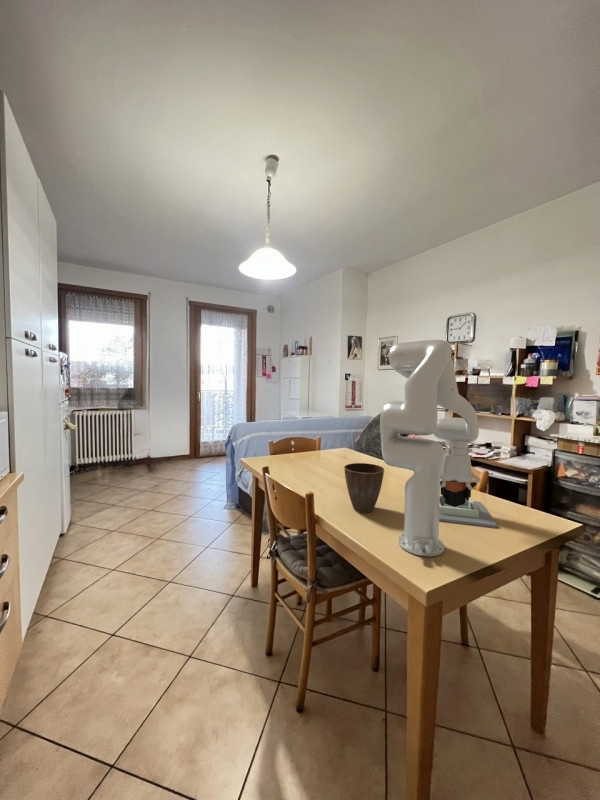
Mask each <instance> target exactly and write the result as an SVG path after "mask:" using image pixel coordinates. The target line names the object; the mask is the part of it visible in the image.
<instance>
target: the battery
mask: <svg viewBox="0 0 600 800" xmlns="http://www.w3.org/2000/svg"><path fill="white" fill-rule="evenodd" d="M452 480H454V479H452ZM466 486H467V485H466V483H461V482H457V481H446V484H445V488H446V491H445V504H448V505H450V506H453V507H457V506H460V505H463V504H465V501H466Z"/></svg>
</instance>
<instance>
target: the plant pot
mask: <svg viewBox="0 0 600 800" xmlns="http://www.w3.org/2000/svg"><path fill="white" fill-rule="evenodd" d="M343 468H344V477H345V482H346V487H347V491H348V492H347V493H348V495H349V499H350V502H351V505H352V506H351V507H352V508H353V510H355V511H356V512H358V513H365V514H366V513H367V514H369V513H372V512H373V511H374V510H375V507H376V504H377V501H378V499H379V496H380V493H381V489H382V484H383V479H384V474H385V473H384V472H385V468H384V466H381V465H377V464H374V463H366V462H365V463H364V462H354V463H348V464H345V465H344V467H343Z"/></svg>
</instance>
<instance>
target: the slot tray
mask: <svg viewBox="0 0 600 800" xmlns="http://www.w3.org/2000/svg"><path fill="white" fill-rule="evenodd" d="M442 521H444V522H443V523H450V522H451V523H452V524H458V523H459V525H461V524H462V525H467V526H476V527H477V526H478V527H485V528H492V529H498V524H497V522H496V521H495V520H494V518H493V517H492V516H491V514H490V513H489V511H488V510H487V509H486V508H485V506H484V505H483V503H482V502H481V501H475V500H472V498H470V497H469V500H466V501H465V504H463V505H460V506H457V507H453V506H450V505H448V504H445V498H443V496H442V495H441V494H440V505H439V522H442Z"/></svg>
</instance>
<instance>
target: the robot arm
mask: <svg viewBox="0 0 600 800" xmlns="http://www.w3.org/2000/svg"><path fill="white" fill-rule="evenodd" d="M452 351H453V350H452V344H451V343H450V342H449V341H447V340H444V339H425V340H415V341H405V342H399V343H395V344H393V346H391V348H390V349H389V352H388V362H389V364H390V367H391V368H392V369H393V370H394V371H395V372H396V373H398V374H400V375H401V376H403V377H404V378H406V379H407V380H406V382H405V384H404V400H403V401H401V400H400V401H399V400H398V401H397V400H395V401H394V400H393V401H389V402H387V403H385V404H384V405H383V406H382V409H381V412H380V414H379V415H380V416H379V417H380V419H379V427H380V428H379V431H380V442H381V443H380V446H381V455H382V456H381V457H382V460H383V461H384V463H385V464H386V465H388V466H390V467H394V468H399V469H404V470H405V469H406V470H409V471H413V474H412V475H411V476H410V477H409V478H408V479H407V481H406V482H405V485H404V512H403V513H404V514H403V515H404V516H403V518H404V519H403V520H404V522H403V524H404V525H403V533H402V534H400V536H399V537H398V544H399V546H400V547H401V548H402V549H403V550H405V551H406V552H408V553H410V554H413V555H416V556H420V557H439V556H440V555H442V554H444V552H445V544H444V542H443V541H441V539H439V536H440V521H439V505H440V495H442V496H443V498H445V491H446V488H445V484H446V481H457V482H461V483H466V500H469V498H471V497H472V495H471V494H472V490H473V488H475V487H476V486H477V485H478V484H479V483H480V482H481V478H480V477H479V476H478V475H476V474H475V473H474V472H473V471H472V462H471V456H470V455H469V454H470V453H473V448H469V443H473V442H475V441H477V439H478V438H479V434H480V433H479V430H480V428H479V421H478V415H477V414H478V413H477V411H476V410H475V408H474V407H473V405H472V404H471V403H470V402H469V400H467V399H466V398H465V397H463V396H462V395H461V394H459V389H458V383H457V377H456V370H455V365H454V360H453V358H452ZM438 406H439V407H442V408H444V409H446V410H448V411H451V412H453V413H455V414H457V415H459V416H460V417H449V418H439V419H438ZM401 434H403V435H412V436H413V435H415V436H431V435H433V436H434V437H435V438H437V439H438V440H443V441H445V449H444V447H443V446H442V445H441V443H439V442H438V441H436V440H433V439H428V438H421V437H410V436H402V435H401ZM452 479H454V480H452ZM472 479H474V480H472ZM471 499H472V498H471Z"/></svg>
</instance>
